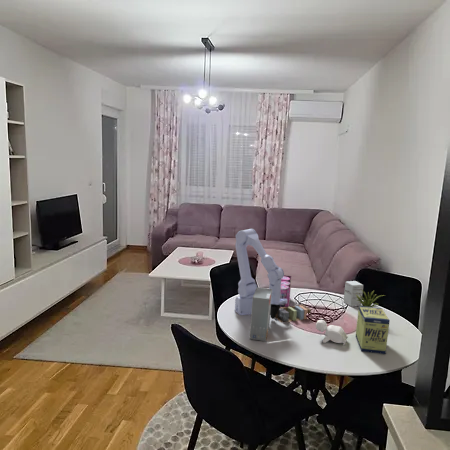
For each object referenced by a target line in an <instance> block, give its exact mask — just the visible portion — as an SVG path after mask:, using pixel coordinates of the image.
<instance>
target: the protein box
mask: <svg viewBox="0 0 450 450" xmlns="http://www.w3.org/2000/svg"><path fill="white" fill-rule="evenodd" d="M357 311H358V312H357V313H358V314H357V321H356V327H355V328H356V329H355V338H356V339H355V340H356V341H357V344H358V347H359V350H360V352H365V353H372V354H373V353H374V354H383V355H386V351H387V344H388V337H389V329H390V319H389V318H388V316H387V314H386V313H385V310H384V309H383V308H381V307H366V306H358V310H357Z"/></svg>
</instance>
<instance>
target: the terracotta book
mask: <svg viewBox="0 0 450 450" xmlns="http://www.w3.org/2000/svg"><path fill="white" fill-rule="evenodd" d="M299 305H300V304H299ZM299 307H300V308H302V309H303V310H304V318H303V319H306V320H308V319H307V317H306V314H307V313H308V309H306V308H305V307H303V306H302V305H300V306H299Z"/></svg>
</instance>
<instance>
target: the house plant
mask: <svg viewBox="0 0 450 450" xmlns="http://www.w3.org/2000/svg"><path fill="white" fill-rule="evenodd" d="M362 291H363V293H362V294H363V295H364V297H363V295H362V296H361V295H360V294H359V293H358V292H357V293H358V294H359V295H360V297H361V298H362V300H361V298H360V297H359V296H358V295H356V296H357V298H358V299H359V300H356V301H360V302H359V303H361V305H360V306H366V307H376V308H379V303H377V302H376V301H377V300H378V299H379V298H381V297H383V296H386V295H384V294H383V295H382V294H381V295H377V294H374V292H375V290H373V291H371V292H369V291H368V292H367V293H366V292H365V291H364V289H363V290H362ZM374 302H375V303H374Z"/></svg>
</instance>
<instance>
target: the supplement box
mask: <svg viewBox="0 0 450 450" xmlns="http://www.w3.org/2000/svg"><path fill="white" fill-rule="evenodd" d="M362 290H363V291H364V284H362V283H360V282H359V281H358V280H357V281H356V280H353V281H352V280H350V281H349V280H348V281H345V285H344V291H343V293H344V295H343V300H342V301H343V303H345V304H346V305H348V306H349V307H359V306H360V305H362V304H361V303H359V302H360V301H356V300H359V299H358V298H357V296H356V295H358V296H359V297H360V295H361V296H362V297H363V294H364V293H363V291H362ZM357 292H358V293H359V294H360V295H359V294H358V293H357ZM360 298H361V297H360ZM361 300H362V301H363V299H362V298H361Z"/></svg>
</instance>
